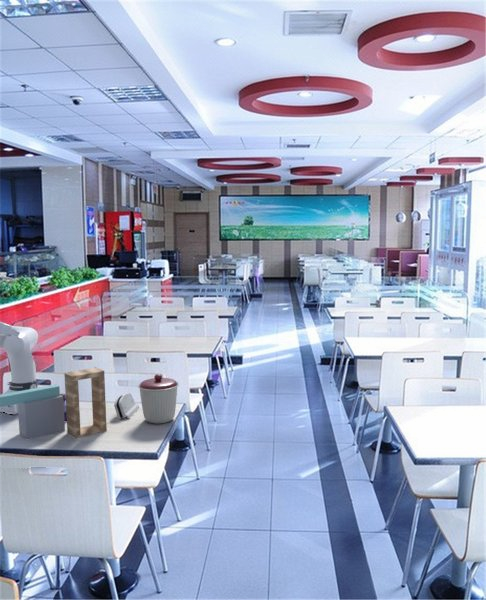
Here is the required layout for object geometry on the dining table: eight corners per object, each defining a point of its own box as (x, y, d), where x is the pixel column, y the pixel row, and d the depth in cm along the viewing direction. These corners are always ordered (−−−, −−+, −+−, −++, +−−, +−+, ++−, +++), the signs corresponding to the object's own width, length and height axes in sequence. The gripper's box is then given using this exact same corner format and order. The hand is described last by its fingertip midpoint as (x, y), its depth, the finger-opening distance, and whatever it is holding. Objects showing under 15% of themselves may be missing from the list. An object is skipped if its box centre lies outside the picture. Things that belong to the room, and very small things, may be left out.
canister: (177, 426, 239) (176, 379, 236) (135, 427, 238) (134, 379, 236) (181, 413, 257) (180, 369, 254) (142, 413, 256) (141, 369, 254)
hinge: (129, 419, 249) (121, 399, 248) (119, 422, 249) (111, 402, 249) (140, 408, 265) (132, 388, 264) (131, 411, 266) (123, 392, 265)
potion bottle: (71, 416, 254) (70, 390, 253) (73, 421, 246) (72, 395, 245) (52, 418, 251) (50, 392, 250) (53, 424, 243) (51, 397, 242)
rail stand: (75, 438, 226) (72, 376, 223) (67, 433, 232) (64, 372, 229) (106, 430, 235) (104, 370, 232) (98, 425, 241) (95, 367, 238)
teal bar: (0, 407, 220) (0, 397, 219) (-3, 404, 223) (-3, 395, 222) (59, 395, 235) (59, 386, 234) (56, 393, 238) (55, 384, 237)
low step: (26, 439, 225) (24, 404, 223) (19, 434, 232) (17, 399, 230) (65, 430, 235) (63, 396, 233) (56, 425, 242) (55, 392, 240)
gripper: (-30, 333, 223) (4, 342, 231) (-16, 332, 207) (20, 341, 215) (-25, 318, 224) (9, 327, 232) (-10, 316, 209) (25, 326, 217)
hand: (15, 334), depth 224 cm, fingers open, 8 cm apart
